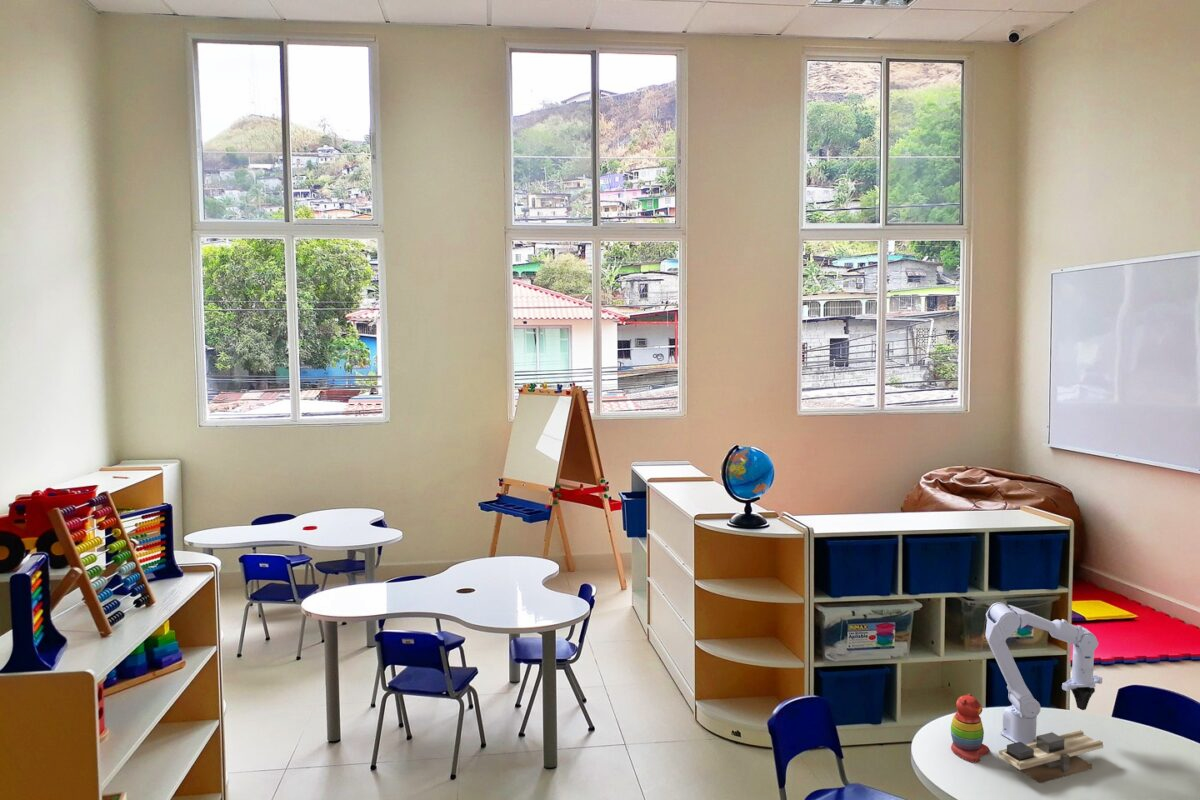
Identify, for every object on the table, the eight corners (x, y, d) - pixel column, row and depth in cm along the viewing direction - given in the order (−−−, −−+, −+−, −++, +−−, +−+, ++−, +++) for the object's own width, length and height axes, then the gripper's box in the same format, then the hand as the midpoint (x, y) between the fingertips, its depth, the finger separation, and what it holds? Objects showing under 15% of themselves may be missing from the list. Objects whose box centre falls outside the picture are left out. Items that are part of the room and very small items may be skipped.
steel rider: (1036, 747, 254) (1036, 736, 254) (1051, 743, 256) (1052, 732, 256) (1048, 754, 250) (1048, 743, 249) (1064, 750, 252) (1064, 739, 251)
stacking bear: (976, 764, 256) (977, 708, 254) (943, 752, 263) (944, 697, 261) (992, 751, 263) (993, 696, 261) (960, 739, 270) (961, 686, 268)
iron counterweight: (1006, 754, 250) (1006, 744, 250) (1019, 751, 252) (1020, 741, 252) (1020, 762, 246) (1020, 753, 245) (1033, 759, 247) (1033, 749, 247)
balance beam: (998, 756, 251) (998, 750, 251) (1079, 735, 262) (1080, 730, 262) (1020, 769, 244) (1020, 763, 244) (1103, 747, 254) (1103, 742, 254)
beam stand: (1009, 764, 255) (1010, 745, 254) (1060, 750, 262) (1061, 732, 261) (1040, 783, 245) (1040, 763, 244) (1092, 768, 251) (1092, 749, 251)
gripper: (1076, 675, 259) (1075, 718, 260) (1111, 667, 264) (1110, 709, 265) (1056, 667, 266) (1055, 708, 267) (1091, 659, 270) (1090, 700, 272)
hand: (1081, 708), depth 267 cm, fingers closed
